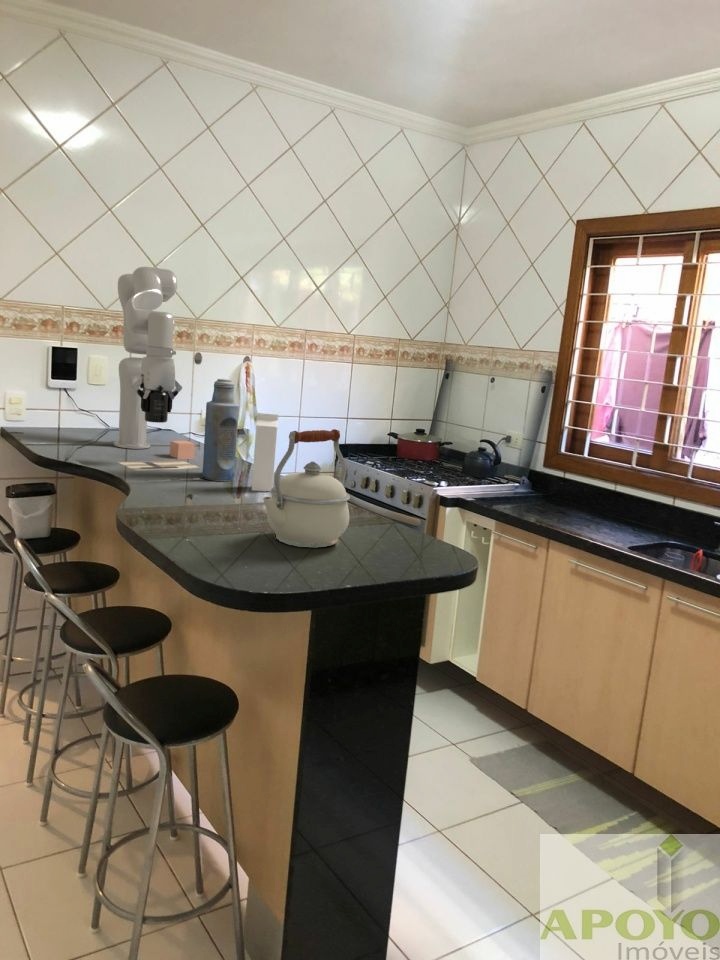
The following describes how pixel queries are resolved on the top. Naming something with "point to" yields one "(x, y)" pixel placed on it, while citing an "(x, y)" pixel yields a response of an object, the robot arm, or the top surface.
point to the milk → (264, 452)
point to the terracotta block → (182, 449)
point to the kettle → (309, 497)
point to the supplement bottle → (157, 406)
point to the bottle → (220, 433)
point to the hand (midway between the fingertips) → (156, 411)
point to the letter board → (159, 465)
